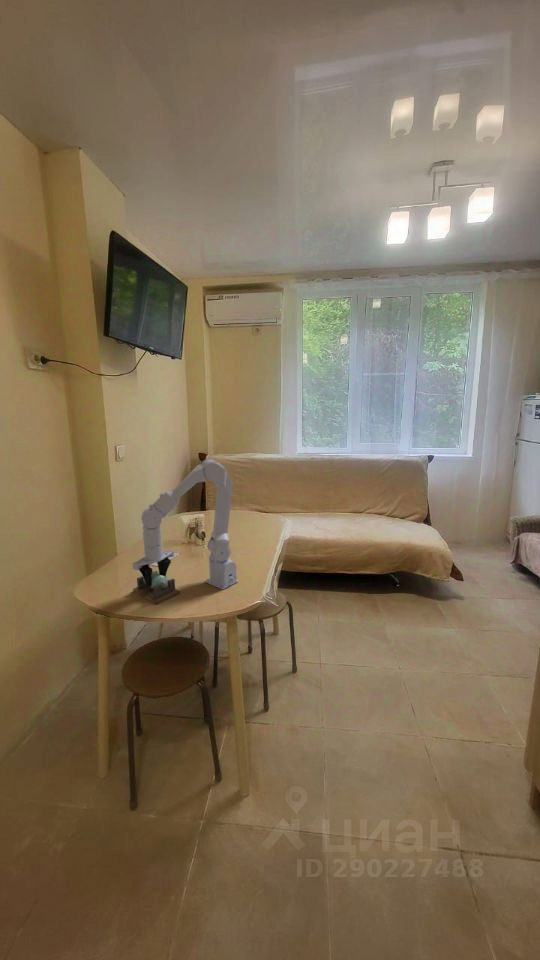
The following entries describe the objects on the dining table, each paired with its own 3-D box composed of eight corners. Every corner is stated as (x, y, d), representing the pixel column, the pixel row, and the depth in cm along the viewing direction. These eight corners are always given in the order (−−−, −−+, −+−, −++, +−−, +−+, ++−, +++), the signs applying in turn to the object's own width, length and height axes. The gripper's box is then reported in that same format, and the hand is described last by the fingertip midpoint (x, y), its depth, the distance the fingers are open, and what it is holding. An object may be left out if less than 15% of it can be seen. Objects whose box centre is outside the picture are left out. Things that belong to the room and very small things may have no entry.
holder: (180, 593, 122) (179, 579, 121) (157, 604, 115) (156, 590, 114) (156, 581, 130) (155, 568, 130) (133, 591, 124) (132, 577, 123)
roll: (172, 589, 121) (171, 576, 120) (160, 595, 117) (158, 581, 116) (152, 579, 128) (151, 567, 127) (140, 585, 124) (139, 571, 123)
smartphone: (181, 553, 157) (159, 566, 143) (181, 554, 157) (159, 567, 143) (168, 551, 160) (145, 564, 146) (168, 552, 160) (145, 565, 146)
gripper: (164, 536, 128) (167, 572, 130) (126, 548, 117) (129, 587, 119) (176, 540, 123) (179, 577, 126) (138, 553, 112) (141, 593, 115)
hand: (155, 582), depth 122 cm, fingers closed on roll, 5 cm apart
